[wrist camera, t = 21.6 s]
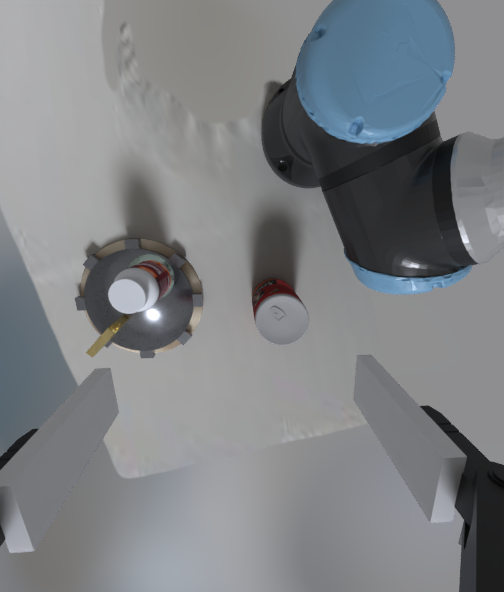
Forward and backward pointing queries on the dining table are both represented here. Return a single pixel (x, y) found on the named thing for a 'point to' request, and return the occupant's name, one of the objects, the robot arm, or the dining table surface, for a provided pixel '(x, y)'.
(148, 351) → the sprocket
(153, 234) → the dining table surface
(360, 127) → the robot arm
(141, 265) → the pill bottle
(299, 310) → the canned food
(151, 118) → the dining table surface
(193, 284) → the base
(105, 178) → the dining table surface
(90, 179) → the dining table surface
